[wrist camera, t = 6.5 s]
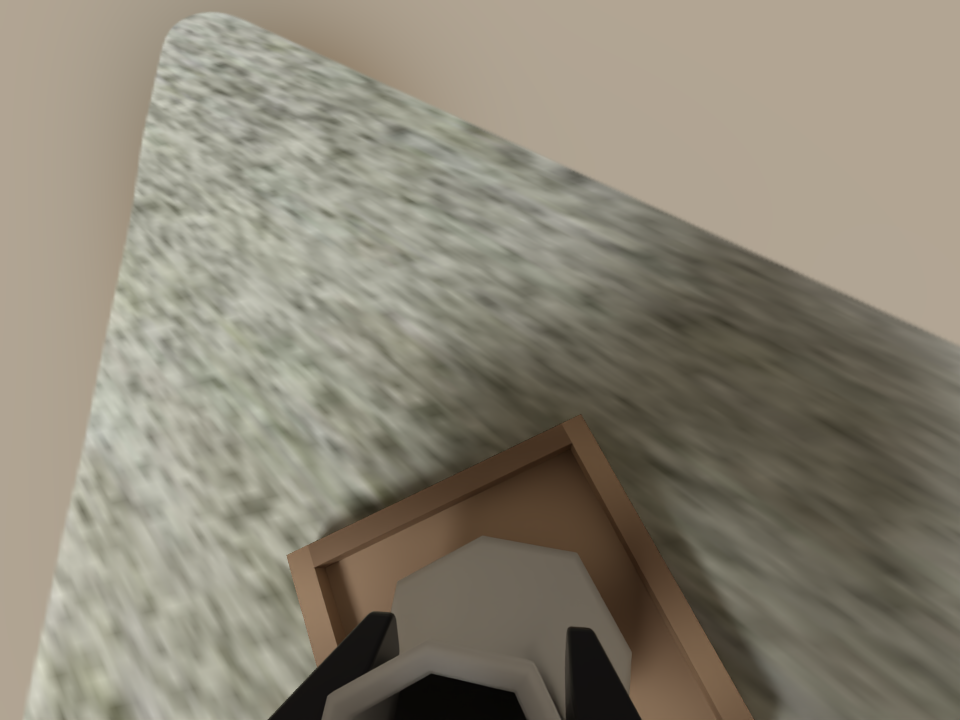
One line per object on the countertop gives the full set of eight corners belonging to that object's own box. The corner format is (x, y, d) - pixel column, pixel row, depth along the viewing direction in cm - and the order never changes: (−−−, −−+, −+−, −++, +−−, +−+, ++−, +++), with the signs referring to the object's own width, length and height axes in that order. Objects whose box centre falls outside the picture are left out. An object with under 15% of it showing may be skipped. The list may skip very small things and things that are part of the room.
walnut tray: (758, 752, 16) (784, 773, 14) (418, 939, 15) (403, 983, 14) (577, 427, 21) (580, 414, 19) (307, 557, 20) (286, 555, 18)
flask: (383, 855, 13) (36, 1462, 4) (368, 554, 16) (148, 513, 7) (668, 815, 13) (981, 1369, 4) (599, 517, 16) (682, 424, 7)
